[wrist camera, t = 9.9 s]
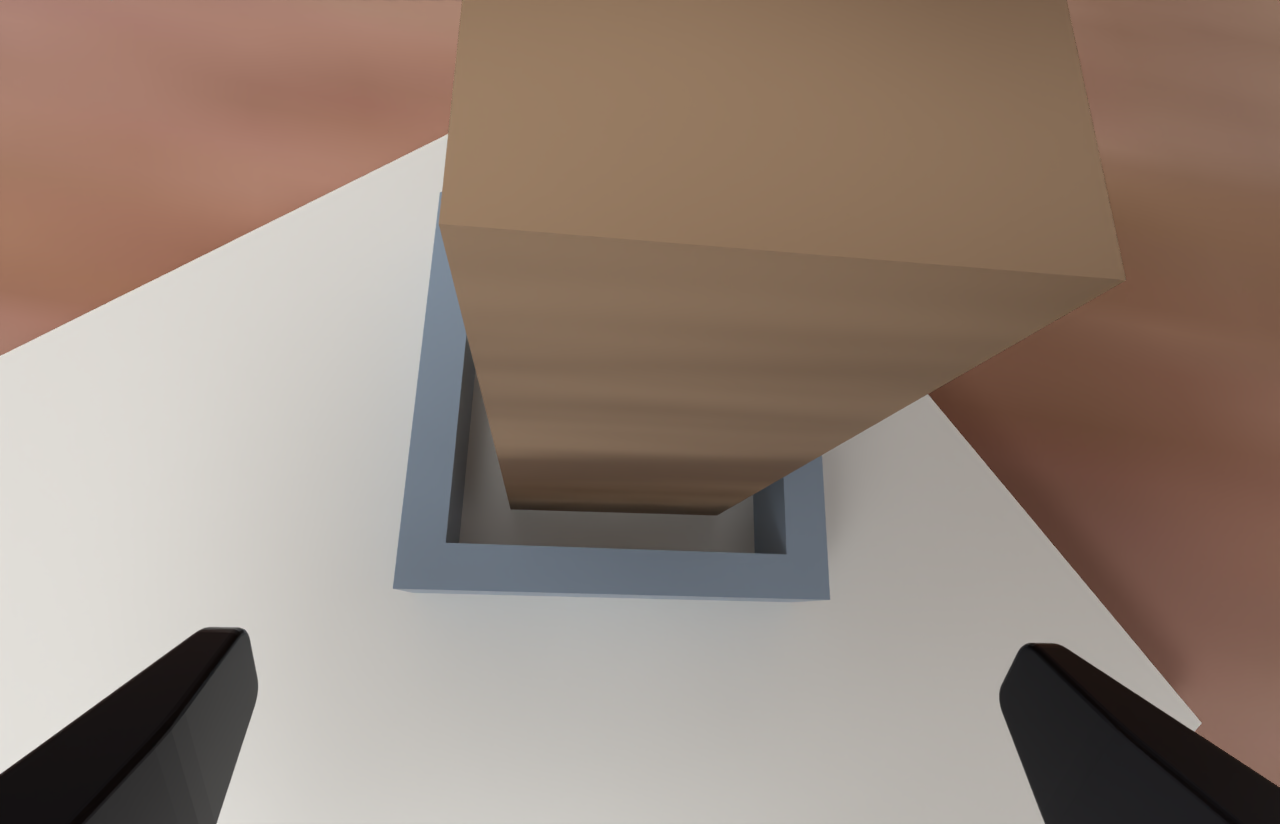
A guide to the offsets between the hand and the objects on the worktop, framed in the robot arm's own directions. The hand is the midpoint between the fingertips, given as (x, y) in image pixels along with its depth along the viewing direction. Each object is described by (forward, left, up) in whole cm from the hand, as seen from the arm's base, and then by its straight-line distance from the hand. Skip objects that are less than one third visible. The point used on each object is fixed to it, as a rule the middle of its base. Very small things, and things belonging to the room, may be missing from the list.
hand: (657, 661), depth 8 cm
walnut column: (+4, -3, -6) cm, 8 cm away
